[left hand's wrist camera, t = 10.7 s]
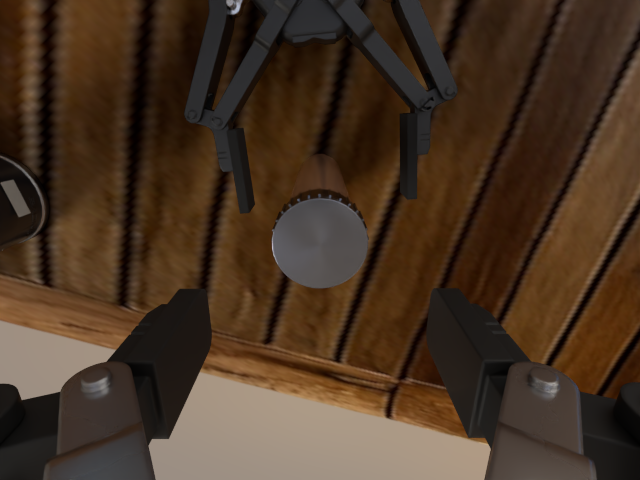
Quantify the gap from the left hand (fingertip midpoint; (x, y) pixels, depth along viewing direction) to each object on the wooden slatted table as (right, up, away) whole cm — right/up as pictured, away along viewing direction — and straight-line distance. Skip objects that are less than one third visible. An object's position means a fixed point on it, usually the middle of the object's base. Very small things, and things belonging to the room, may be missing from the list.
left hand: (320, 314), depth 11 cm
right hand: (+1, +6, +19) cm, 20 cm away
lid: (0, +2, +6) cm, 7 cm away
